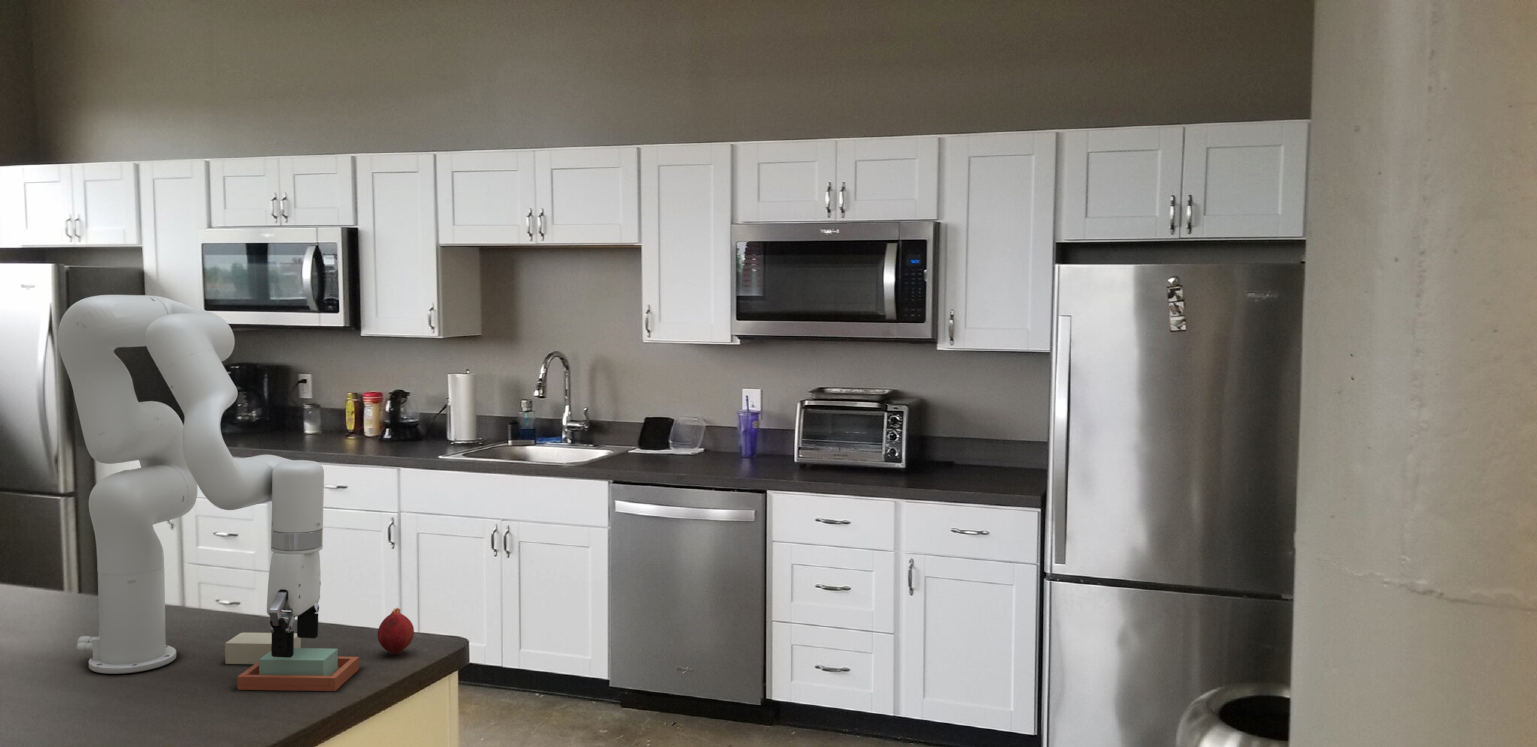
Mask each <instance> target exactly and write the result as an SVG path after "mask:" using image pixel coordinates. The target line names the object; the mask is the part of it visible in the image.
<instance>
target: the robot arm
mask: <svg viewBox="0 0 1537 747" xmlns="http://www.w3.org/2000/svg"><path fill="white" fill-rule="evenodd" d="M235 342H236V340H235V335H234V331H233V330H232V328H231V326H230V324H229V323H228V322H227V321H226V320H225V319H224V318H223V317H221V316H219V315H218V314H216V313H213V312H210V311H208V310H205V309H202V308H199V307H196V306H192V305H189V304H186V303H183V302H180V301H177V300H174V299H171V298H168V297H164V296H159V295H147V294H145V295H144V294H142V295H141V294H100V295H93V296H89V297H85V298H82V299H80V300H78V301H76V302H75V303H73V304H72V305H71V306H69V307H68V309H67V310H66V311H65V312H64V314H63V316H62V317H61V319H60V322H59V324H58V329H57V345H58V351H59V354H60V357H61V360H62V363H63V366H64V368H65V370H66V373H67V375H68V378H69V380H70V384H71V388H72V391H73V396H74V397H73V398H74V402H75V406H76V410H77V414H78V419H79V423H80V427H81V431H82V435H83V440H84V443H85V447H86V449H87V451H88V454H89V455H90V457H91V458H92V459H93V460H95V461H96V462H98V463H100V464H106V465H113V464H122V463H129V462H135V461H138V462H139V465H140V467H137V468H133V469H127V470H122V471H118V472H114V473H111V474H109V475H107V476H105V477H103V478H102V479H100V480H99V481H98V482H96V484H95V485H94V486H93V488H92V489H91V491H90V494H89V498H88V511H89V516H90V519H91V524H92V527H93V528H92V529H93V532H94V538H95V547H96V561H97V562H96V566H97V598H98V604H97V605H98V636H92V635H90V636H89V635H81V636H79V637H78V639H77V643H76V651H77V652H91V653H92V656H91V657H90V658H89V660H88V669H89V670H90V671H92V672H96V673H99V674H106V675H120V674H121V675H122V674H132V673H140V672H145V671H150V670H155V669H158V668H161V667H165V666H166V665H168V664H170V663H172V662H173V661H174V660H176V658H177V649H176V648H175V647H173V646H171V645H168V644H167V641H166V639H167V637H166V583H165V582H166V581H165V578H166V577H165V554H164V549H163V544H162V543H161V540H160V538H159V536H158V535H157V533H156V530H155V529H154V525H157V524H160V523H163V522H164V523H165V522H168V521H171V520H175V519H178V518H181V517H183V516H186V515H187V514H188V513H189V512H190V511H191V510H193V508H194V506H195V504H196V503H197V499H198V491H199V490H200V491H201V493H202V494H203V495H204V497H205V498H206V499H207V501H209V502H210V504H212V505H213V506H215V507H217V508H219V509H220V510H224V511H236V510H240V509H244V508H248V507H251V506H252V507H253V506H255V505H261V504H265V503H270V502H271V525H270V526H271V527H270V528H271V530H270V532H271V533H270V551H271V552H272V553H271V554H272V555H271V560H270V565H269V571H268V581H267V582H268V584H267V585H268V586H267V594H266V595H267V597H266V598H267V599H266V614H267V615H268V616H269V619H270V621H269V624H270V633H272V645H271V655H272V656H273V657H287V658H291V657H292V656H293V655H294V633H295V631H294V630H292V629H293V626H294V623H295V619H296V633H297V637H299V638H301V639H317V638H318V636H319V612H320V605H319V602H320V599H321V584H322V582H321V557H320V554H321V553H320V551H321V550H323V546H324V498H325V496H324V494H325V470H324V467H323V466H322V464H321V463H320V462H317V461H314V460H307V459H306V460H305V459H289V458H285V457H282V456H279V455H276V454H275V455H274V454H258V455H254V456H249V457H241V458H238V459H235V458H234V457H233V456H232V454H231V452H230V450H229V448H228V446H227V445H226V443H225V440H224V437H223V435H222V430H221V422H222V417H223V414H224V413H225V411H226V410H227V409H228V408H230V407H231V406H232V405H233V404H234V403H235V402H236V400H237V398H238V394H239V392H238V388H237V386H236V385H235V383H234V381H233V380H232V378H231V376H230V375H229V373H228V372H227V369H226V368H225V366H224V364H223V362H224V361H226V360H227V359H228V358H229V357H231V355H232V353H233V351H234V349H235V344H236V343H235ZM136 347H137V348H138V347H146V348H147V351H148V352H149V355H150V357H151V358H152V360H153V362H154V364H155V365H156V367H157V369H158V371H159V372H160V374H161V376H162V377H163V379H164V381H165V383H166V384H167V386H168V388H169V390H170V391H171V393H172V395H173V397H174V398H175V401H176V402H177V404H178V405H179V407H180V409H181V411H182V413H183V417H184V421H183V420H182V419H181V418H180V416H179V414H178V413H177V412H176V411H175V410H174V409H173V408H172V407H171V406H169V405H168V404H166V403H163V402H160V401H154V400H149V401H139V400H138V397H137V394H136V391H135V387H134V383H133V382H134V381H133V378H132V376H131V373H130V371H129V370H128V368H127V366H126V365H125V363H124V362H123V361H122V360H121V358H119V357H118V356H117V355H116V353H115V350H116V349H118V348H136ZM198 488H199V490H198ZM285 619H287V621H286V620H285Z"/></svg>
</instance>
